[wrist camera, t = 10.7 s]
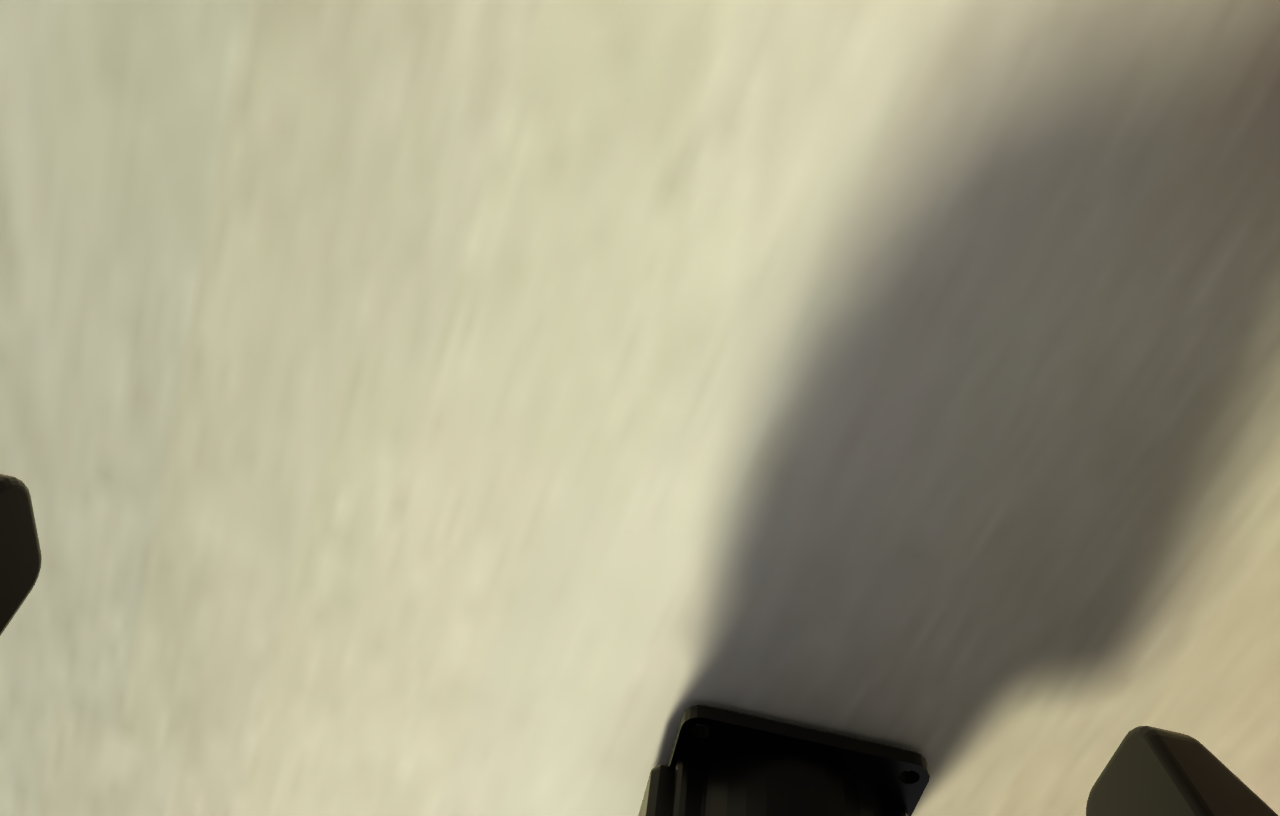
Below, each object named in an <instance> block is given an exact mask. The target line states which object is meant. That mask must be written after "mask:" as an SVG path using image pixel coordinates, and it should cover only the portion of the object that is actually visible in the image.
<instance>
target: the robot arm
mask: <svg viewBox="0 0 1280 816" xmlns="http://www.w3.org/2000/svg"><path fill="white" fill-rule="evenodd" d="M40 568H41V550H40V545H39V540H38V534H37V529H36V523H35V518H34V513H33V507H32V502H31V496H30V493H29V490H28V488H27V487H26V486H25V484H24V483H23V482H22V481H21V480H19V479H17V478H15V477H12V476H7V475H3V474H0V635H1V634H2V633H3V631H4V630H5V628H6V627H7V625H8V624H9V622H10V621H11V619H12V618H13V616H14V615H15V613H16V612H17V611H18V609H19V608H20V606H21V605H22V603H23V602H24V600H25V599H26V597H27V596H28V594H29V593H30V591H31V590H32V588H33V586H34V585H35V583H36V580H37V578H38V575H39V572H40ZM696 724H703V725H705V726H699V725H696ZM907 770H910V771H907ZM929 777H930V776H929V770H928V765H927V762H926V759H925V758H924V757H923V756H922V755H921V754H918V753H916V752H912V751H908V750H903V749H899V748H894V747H890V746H885V745H881V744H876V743H872V742H867V741H863V740H858V739H854V738H849V737H844V736H840V735H835V734H831V733H826V732H822V731H817V730H813V729H808V728H804V727H799V726H795V725H790V724H786V723H781V722H777V721H772V720H768V719H763V718H758V717H754V716H749V715H745V714H740V713H736V712H731V711H727V710H722V709H718V708H713V707H709V706H702V705H696V706H692V707H690V708H688V709H686V710H685V712H684V713H683V715H682V719H681V722H680V726H679V729H678V732H677V736H676V739H675V743H674V746H673V749H672V753H671V756H670V760H669V763H668V766H667V765H662V764H659V765H658V766H657V767H655V768H654V769H652V770H651V773H650V776H649V780H648V784H647V787H646V791H645V794H644V798H643V801H642V805H641V809H640V812H639V816H911V815H912V813H913V811H914V809H915V807H916V805H917V803H918V801H919V799H920V797H921V795H922V793H923V791H924V789H925V787H926V785H927V784H928V782H929ZM1086 816H1278V815H1277V814H1276V813H1275V812H1274V811H1273V810H1272V809H1271V808H1270V807H1269V806H1268V805H1266V804H1265V803H1264V802H1263V801H1262V800H1261V799H1260V798H1259V797H1258V796H1257V795H1256V794H1255V793H1254V792H1253V791H1251V790H1250V789H1249V788H1248V787H1247V786H1246V785H1245V784H1244V783H1243V782H1242V781H1241V780H1240V779H1239V778H1237V777H1236V776H1235V775H1234V774H1233V773H1232V772H1231V771H1230V770H1229V769H1228V768H1227V767H1226V766H1225V765H1224V764H1222V763H1221V762H1220V761H1219V760H1218V759H1217V758H1216V757H1215V756H1214V755H1213V754H1212V753H1211V752H1210V751H1209V750H1207V749H1206V748H1205V747H1204V746H1203V745H1202V744H1201V743H1200V742H1199V741H1197V740H1196V739H1194V738H1192V737H1190V736H1188V735H1185V734H1181V733H1177V732H1172V731H1168V730H1163V729H1159V728H1154V727H1149V726H1139V727H1136V728H1135V729H1133V730H1131V731H1130V732H1129V733H1128V734H1127V735H1126V736H1125V738H1124V739H1123V741H1122V742H1121V744H1120V746H1119V747H1118V749H1117V750H1116V752H1115V753H1114V755H1113V756H1112V758H1111V759H1110V761H1109V762H1108V764H1107V766H1106V767H1105V769H1104V770H1103V772H1102V773H1101V775H1100V776H1099V778H1098V779H1097V781H1096V782H1095V784H1094V786H1093V787H1092V789H1091V792H1090V794H1089V797H1088V801H1087V807H1086Z"/></svg>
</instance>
